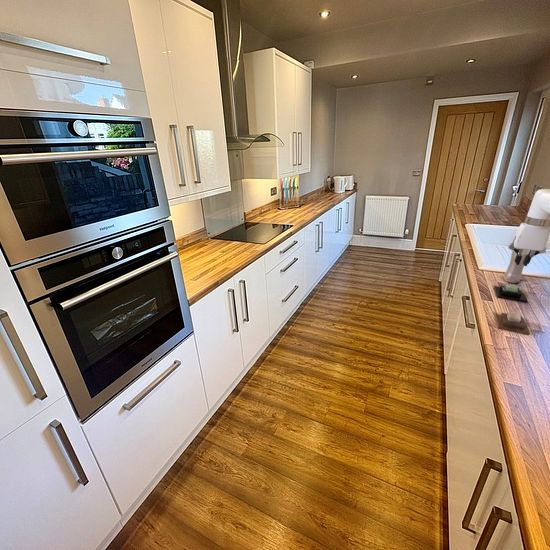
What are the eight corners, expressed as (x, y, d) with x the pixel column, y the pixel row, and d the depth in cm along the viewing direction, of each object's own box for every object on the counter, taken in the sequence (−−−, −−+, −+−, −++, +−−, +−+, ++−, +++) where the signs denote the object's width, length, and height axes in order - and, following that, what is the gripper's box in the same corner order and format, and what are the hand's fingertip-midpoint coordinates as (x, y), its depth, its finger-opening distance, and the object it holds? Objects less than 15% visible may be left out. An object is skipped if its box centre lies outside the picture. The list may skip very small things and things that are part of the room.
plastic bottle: (521, 285, 136) (537, 245, 128) (504, 283, 139) (518, 244, 130) (516, 279, 142) (531, 241, 133) (500, 277, 144) (513, 239, 135)
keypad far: (520, 292, 131) (522, 286, 129) (525, 303, 123) (528, 296, 121) (493, 288, 135) (495, 282, 134) (496, 297, 127) (499, 291, 126)
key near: (517, 318, 108) (519, 314, 108) (519, 323, 106) (521, 319, 105) (506, 316, 110) (508, 312, 109) (508, 320, 107) (509, 317, 106)
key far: (515, 289, 128) (516, 285, 128) (516, 292, 125) (518, 289, 125) (505, 287, 130) (506, 284, 129) (506, 291, 127) (507, 287, 126)
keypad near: (522, 322, 110) (525, 315, 109) (528, 335, 103) (531, 328, 102) (494, 316, 114) (496, 310, 113) (498, 328, 107) (500, 322, 106)
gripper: (560, 221, 114) (542, 264, 122) (510, 217, 120) (496, 258, 129) (566, 226, 108) (547, 271, 116) (514, 222, 115) (499, 264, 123)
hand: (520, 264), depth 122 cm, fingers closed
